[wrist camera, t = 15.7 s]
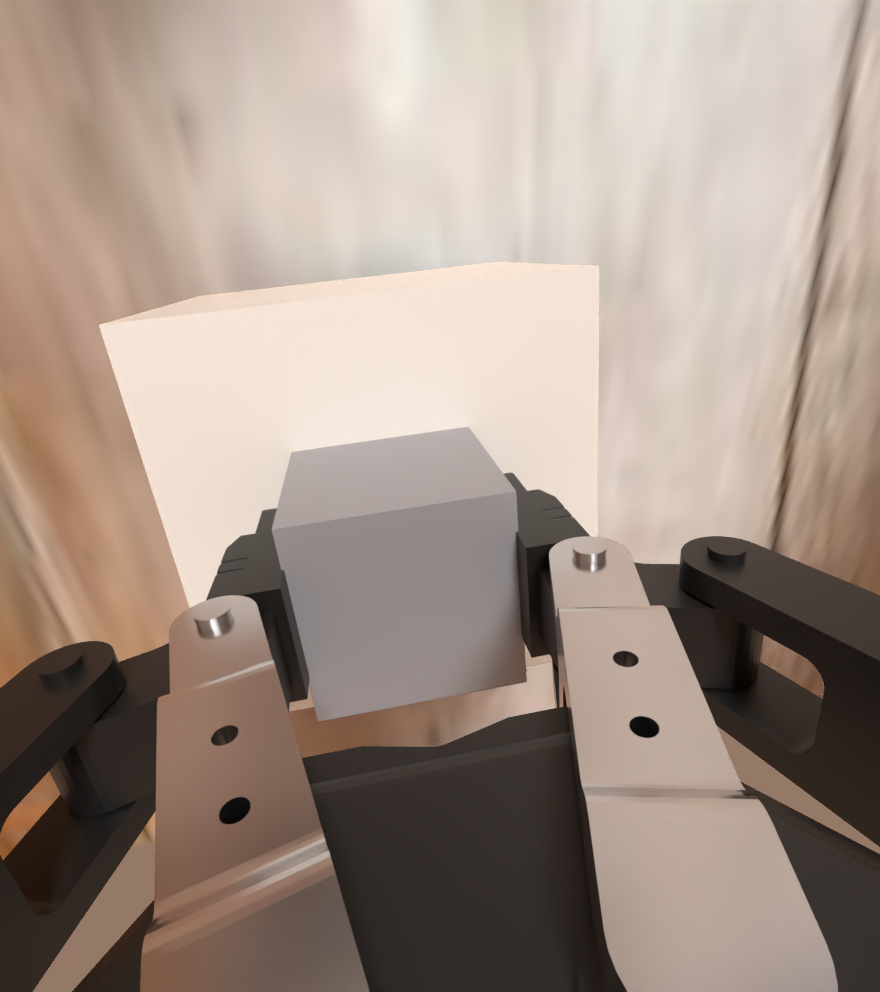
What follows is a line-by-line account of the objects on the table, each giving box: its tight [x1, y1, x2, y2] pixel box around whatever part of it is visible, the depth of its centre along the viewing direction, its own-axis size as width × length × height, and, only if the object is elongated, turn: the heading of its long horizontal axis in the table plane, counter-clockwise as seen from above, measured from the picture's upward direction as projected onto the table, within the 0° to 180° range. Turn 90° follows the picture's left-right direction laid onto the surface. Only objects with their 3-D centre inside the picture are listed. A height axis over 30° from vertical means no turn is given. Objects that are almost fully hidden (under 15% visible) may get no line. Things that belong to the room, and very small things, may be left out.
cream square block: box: [99, 262, 599, 722], centre depth 16 cm, size 10×10×13 cm
